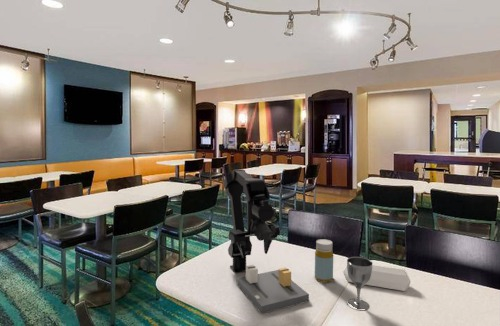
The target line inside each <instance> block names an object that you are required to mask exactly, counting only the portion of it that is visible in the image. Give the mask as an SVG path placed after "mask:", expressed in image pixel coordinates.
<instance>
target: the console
mask: <svg viewBox="0 0 500 326" xmlns="http://www.w3.org/2000/svg"><path fill="white" fill-rule="evenodd" d="M236 280H237V281H236V285H237V286H238V288H240V290H241V291H242V292H243V293H244V294H245V295H246V297H247V298H248V299H249V301H250V302H251V303H252V304H253V305H254V306H255V308H256V309H257V310H258V312H260V314H265V313H270V312H273V311H277V310H280V309H281V310H282V309H284V308H288V307H292V306H296V305H300V304H303V303H308V302H309V301H310V294H309V293H308V292H307V291H306V290H304V289H303V288H302V287H301V286H300V285H298V284H297V283H295V281H293V280H292V279H291V285H290V286H285V287H283V286H282V285H281V284H280V283H279V282H278V269H275V270H272V271H271V270H270V271H266V272H261V273H258V282H256V283H251V284H250V283H249V282H248V281H247V280H246V276H241V277H238V278H237V279H236Z"/></svg>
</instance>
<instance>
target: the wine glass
mask: <svg viewBox="0 0 500 326" xmlns="http://www.w3.org/2000/svg"><path fill="white" fill-rule="evenodd" d="M346 265H347V271H348V275H349V278H350V279H351V280H352V282H351V283H353V284H354V286H355V288H356V296H357V297H356V298H350V299H348V303H349V304H350V305H352V306H353V307H355V308H357V309H365V310H364V311H367V310H369V309H370V304H369V303H368V302H367V301H366V300H363V299H361V296H360V295H361V289H362V288H363V287H364V286H365V284H366V283H367V282H368V281H369V280H370V277H371V274H372V265H373V261H372V260H371V259H368V258H366V257H362V256H351V257H348V258H347V260H346ZM360 299H361V300H360Z"/></svg>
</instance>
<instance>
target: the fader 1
mask: <svg viewBox="0 0 500 326" xmlns="http://www.w3.org/2000/svg"><path fill="white" fill-rule="evenodd" d="M258 271H259V270H258V268H257V267H256V266H255V265H254V264H250V265H246V271H245V277H246V280H247V281H248V282H249V283H250V284H251V283H256V282H258V274H259V273H258Z"/></svg>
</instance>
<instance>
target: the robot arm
mask: <svg viewBox="0 0 500 326" xmlns="http://www.w3.org/2000/svg"><path fill="white" fill-rule="evenodd" d="M223 188H224V190H225V194H226V195H227V196H228V198H229V200H230V211H231V218H232V220H231V221H232V227H233V228H232V229H233V230H232V229H231V230H229V233H228V239H229V240H230V244H229V246H228V249H227V252H228V255H229V256H230V258H231V259H232V265H229V268H230V270H232V271H233V272H234V273H236V274H237V273H240V272H241V273H242V272H246V266H247V256H252V255H251V254H252V247H253V244H252V242H251V237H253V236H255V237H256V238H257V241H259V242H261V241H263V249H264V250H263V251H264V254H265V255H267V254H268V252H269V250H270V247H271V244H272V242H273V240H274V239H277V238H278V236H281V229H280V228H279V226H277V225H275V223H270V224H269V223H267V224H266V222H268V221H270V220H272V218H273V217H274V213H275V210H274V208H273V206H272V205H271V204H269V201H270V199H271V198H270V195H271V194H270V191H269V189H268V187H267V183H266V182H265V180H264V179H262V178H256V177H253V176H251V175H250V174H249V173H247V172H246V170H245V169H242V168H241V169H233V170H232V171H231V172H230V173H229V174H228V175H226V176H225V178H224V181H223ZM243 193H244V196H245V197H246V198H245V200H246V215H245V220H246V226H245V223H244V222H245V221H244V215H243V214H244V213H243V205H242V197H241V196H242V195H243Z"/></svg>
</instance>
